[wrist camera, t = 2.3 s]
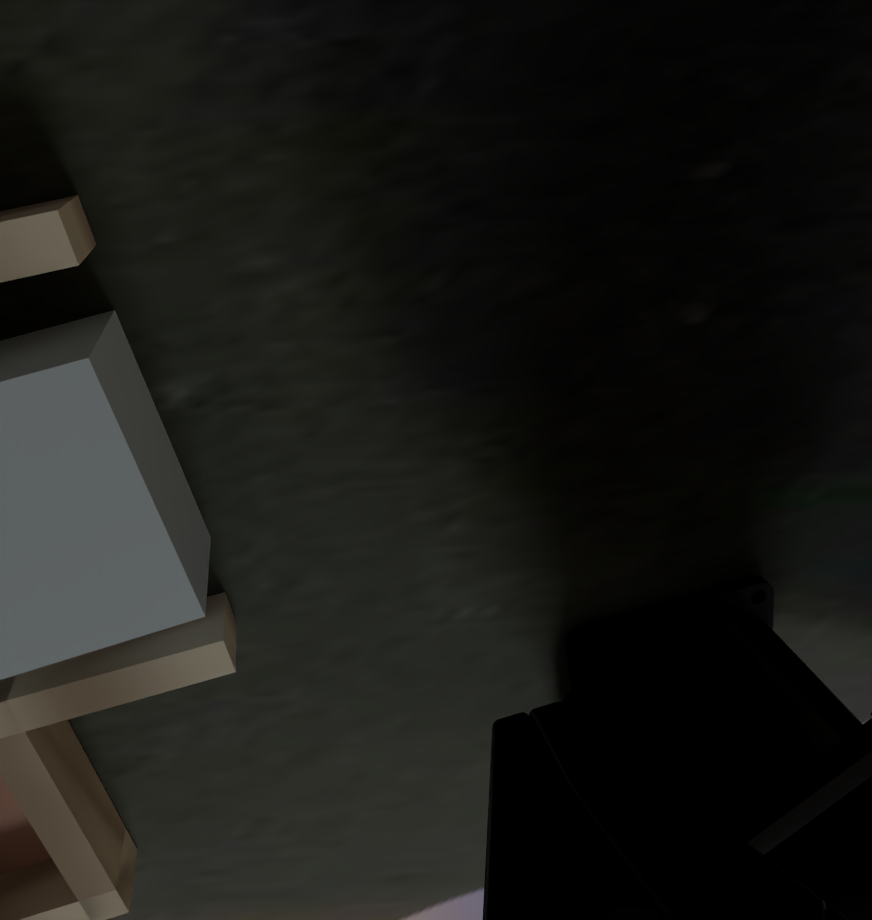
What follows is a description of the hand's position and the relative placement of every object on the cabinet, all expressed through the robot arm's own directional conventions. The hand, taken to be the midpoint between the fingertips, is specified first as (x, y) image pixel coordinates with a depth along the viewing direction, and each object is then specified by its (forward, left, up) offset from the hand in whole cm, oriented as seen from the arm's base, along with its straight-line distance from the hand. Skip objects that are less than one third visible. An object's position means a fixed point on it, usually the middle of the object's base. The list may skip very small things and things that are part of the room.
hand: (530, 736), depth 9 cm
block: (+8, 0, -12) cm, 14 cm away
